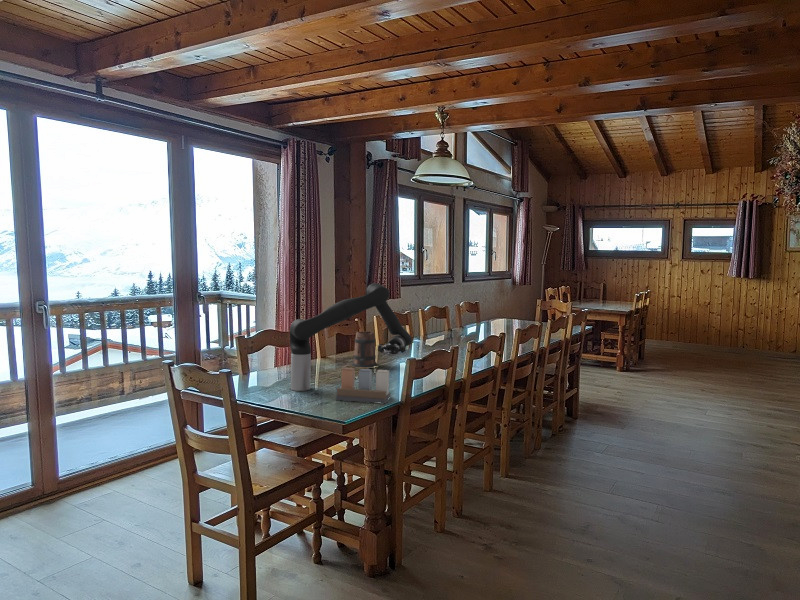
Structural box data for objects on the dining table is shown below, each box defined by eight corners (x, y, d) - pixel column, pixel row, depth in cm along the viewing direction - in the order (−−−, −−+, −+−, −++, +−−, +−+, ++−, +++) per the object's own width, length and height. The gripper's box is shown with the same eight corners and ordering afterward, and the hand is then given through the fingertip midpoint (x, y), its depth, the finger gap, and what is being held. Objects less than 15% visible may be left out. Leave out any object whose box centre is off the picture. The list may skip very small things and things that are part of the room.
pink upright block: (343, 390, 250) (344, 367, 249) (354, 390, 249) (354, 368, 248) (341, 392, 246) (341, 369, 245) (351, 392, 245) (352, 369, 244)
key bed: (343, 393, 252) (344, 383, 252) (390, 397, 248) (390, 386, 248) (336, 400, 240) (336, 389, 240) (384, 404, 236) (385, 392, 236)
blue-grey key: (360, 391, 248) (361, 368, 248) (371, 392, 247) (371, 369, 247) (358, 393, 244) (358, 370, 244) (369, 394, 243) (369, 370, 243)
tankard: (352, 362, 327) (352, 329, 326) (380, 363, 326) (380, 330, 325) (346, 370, 304) (347, 335, 302) (376, 371, 303) (377, 336, 301)
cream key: (377, 392, 247) (378, 369, 246) (388, 393, 246) (389, 370, 245) (375, 394, 243) (376, 371, 242) (386, 395, 242) (387, 372, 241)
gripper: (381, 337, 272) (373, 342, 255) (410, 338, 269) (403, 343, 253) (381, 352, 272) (373, 357, 256) (409, 353, 270) (403, 359, 253)
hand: (388, 350), depth 254 cm, fingers open, 6 cm apart
